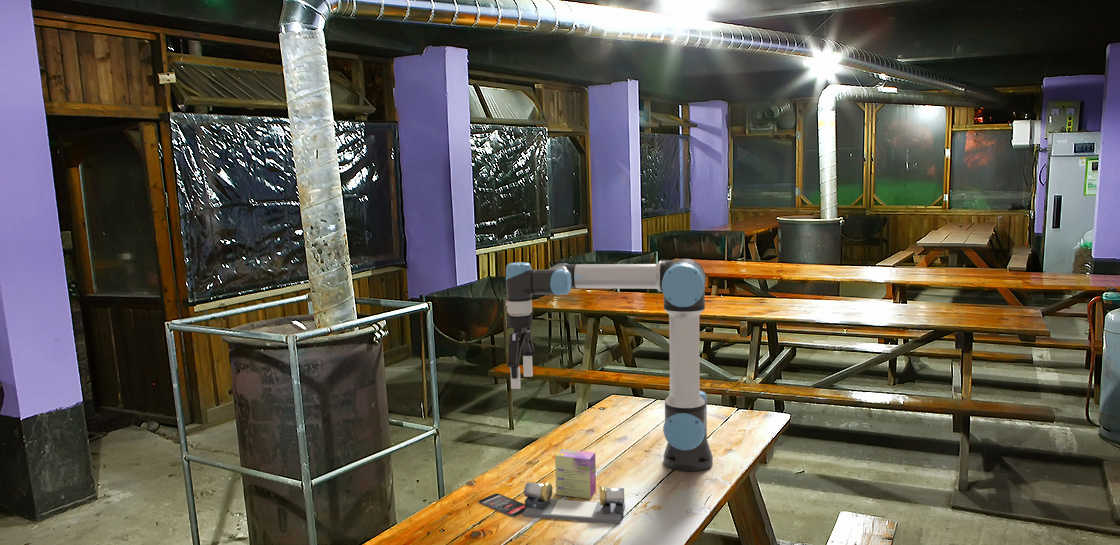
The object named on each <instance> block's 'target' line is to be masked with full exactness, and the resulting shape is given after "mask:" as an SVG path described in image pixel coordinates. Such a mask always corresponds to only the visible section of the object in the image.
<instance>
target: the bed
mask: <svg viewBox="0 0 1120 545" xmlns="http://www.w3.org/2000/svg"><path fill="white" fill-rule="evenodd" d="M610 505H611V514H603V505H600V501H590V500H589V501H588V500H574V499H560V498H559V499H558V498H551V499H550V503H549V504H548V505H547V506H546V507H545V508H544V509H543V510H541V509H536V504H535V505H534V506H533V507H532V508H528V507H527V508H526V509H525V511H524V513H523V514H522V515H523V517H525V518H535V519H536V518H537V519H538V518H540V519H553V520H565V521H577V522H578V521H579V522H591V523H592V522H593V523H605V524H618V525H619V524H621V521H622V514H616V504H610ZM625 508H626V503H624V504H623V510H624V511H625Z"/></svg>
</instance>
